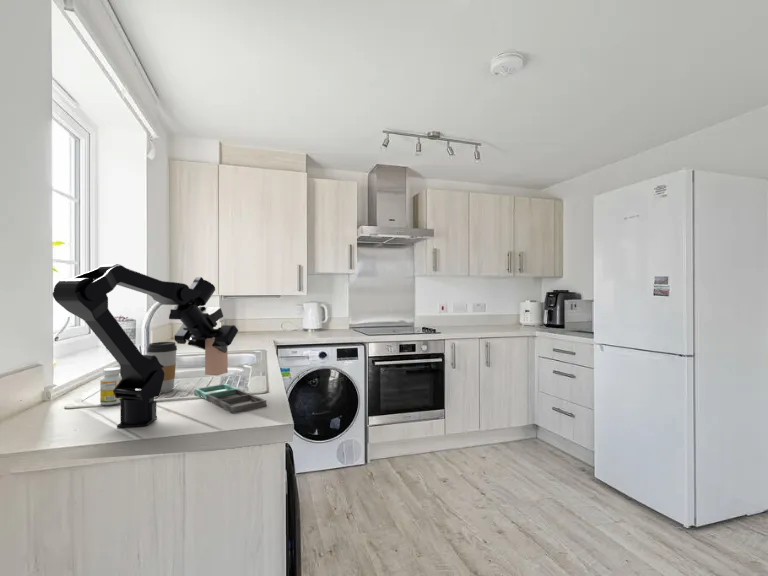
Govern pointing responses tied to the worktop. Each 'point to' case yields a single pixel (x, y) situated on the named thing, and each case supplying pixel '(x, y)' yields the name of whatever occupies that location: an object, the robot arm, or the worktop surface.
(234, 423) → the worktop surface
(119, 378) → the supplement bottle
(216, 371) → the slim block
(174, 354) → the coffee cup
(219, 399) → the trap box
